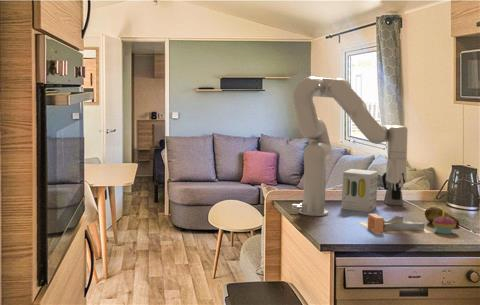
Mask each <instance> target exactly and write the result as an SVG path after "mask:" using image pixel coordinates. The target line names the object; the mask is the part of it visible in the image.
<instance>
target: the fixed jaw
mask: <svg viewBox="0 0 480 305" xmlns="http://www.w3.org/2000/svg"><path fill="white" fill-rule="evenodd" d="M424 228H425V223H424V222H413V223H384V222H383V230H384V231H424Z"/></svg>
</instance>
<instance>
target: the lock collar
mask: <svg viewBox="0 0 480 305" xmlns="http://www.w3.org/2000/svg"><path fill="white" fill-rule="evenodd" d="M384 218H385V217H383V216H380V215H379V214H377V213H368V214H367V222H368V228H374V232H383V222H384V220H385V219H384ZM368 228H367V229H368ZM374 232H373V233H374Z"/></svg>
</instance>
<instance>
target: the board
mask: <svg viewBox="0 0 480 305" xmlns="http://www.w3.org/2000/svg"><path fill="white" fill-rule="evenodd" d="M403 223H414V222H413V221H403ZM358 224H360V225H361V226H363V227H364V228H366V229H367V230H369V231H371V232H372V233H374V234H375V235H378V234H380V235H381V234H433V232H432V231H430V230H429V229H427V228H425V227H424V231H384V230H383V232H374V228H368V221H359V222H358Z"/></svg>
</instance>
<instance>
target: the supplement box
mask: <svg viewBox="0 0 480 305" xmlns="http://www.w3.org/2000/svg"><path fill="white" fill-rule="evenodd" d="M378 178H379V171H378V170H368V169H367V170H366V169H359V168H358V169H356V168H350V169H347V170H345V171H343V172H342V190H341V208H340V209H341V210H347V211H348V210H349V211H355V212H364V213H367V212H371V211H373V210H374V209H376V208H377V197H378V196H377V194H378Z"/></svg>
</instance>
